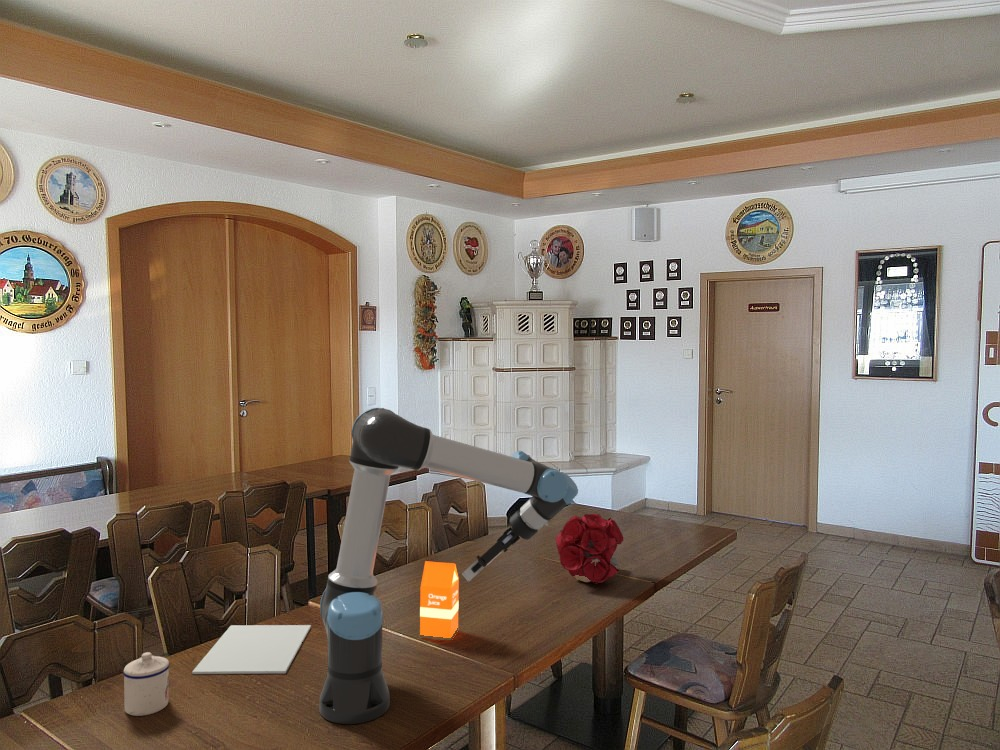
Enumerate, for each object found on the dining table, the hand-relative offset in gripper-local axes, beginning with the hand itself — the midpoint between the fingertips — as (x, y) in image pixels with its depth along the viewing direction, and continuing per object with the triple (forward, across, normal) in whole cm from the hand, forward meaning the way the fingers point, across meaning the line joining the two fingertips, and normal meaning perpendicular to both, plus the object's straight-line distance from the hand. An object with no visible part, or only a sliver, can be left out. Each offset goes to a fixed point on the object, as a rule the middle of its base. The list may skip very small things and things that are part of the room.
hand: (474, 569), depth 192 cm
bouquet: (-1, +60, -29) cm, 67 cm away
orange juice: (+21, 0, -6) cm, 22 cm away
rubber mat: (+49, -26, +22) cm, 60 cm away
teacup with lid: (+53, -57, +26) cm, 82 cm away
